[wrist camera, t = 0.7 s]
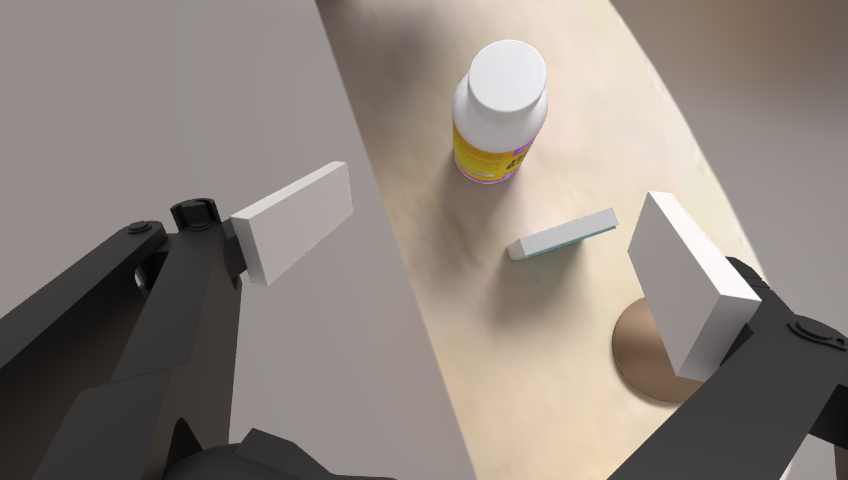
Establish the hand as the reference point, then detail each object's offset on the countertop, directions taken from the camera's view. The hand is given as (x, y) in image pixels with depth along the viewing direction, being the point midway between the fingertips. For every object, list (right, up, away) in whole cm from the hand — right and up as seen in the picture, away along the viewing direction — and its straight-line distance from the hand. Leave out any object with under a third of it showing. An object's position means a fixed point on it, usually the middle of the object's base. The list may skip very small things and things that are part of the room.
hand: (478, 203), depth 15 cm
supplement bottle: (+4, +7, +18) cm, 19 cm away
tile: (+9, -2, +16) cm, 19 cm away
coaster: (+19, -11, +14) cm, 26 cm away
